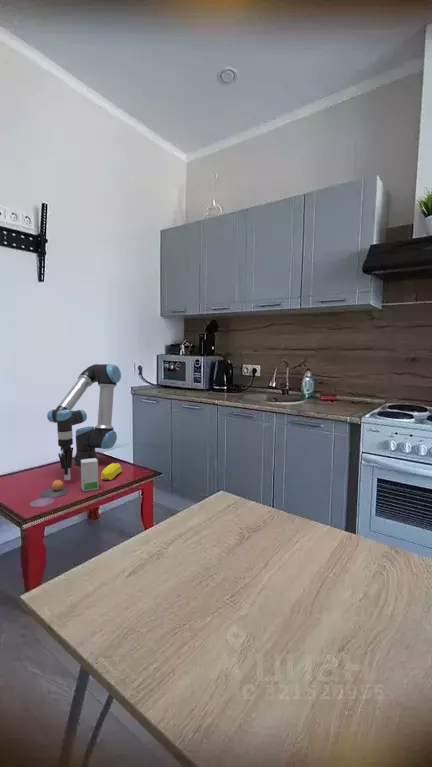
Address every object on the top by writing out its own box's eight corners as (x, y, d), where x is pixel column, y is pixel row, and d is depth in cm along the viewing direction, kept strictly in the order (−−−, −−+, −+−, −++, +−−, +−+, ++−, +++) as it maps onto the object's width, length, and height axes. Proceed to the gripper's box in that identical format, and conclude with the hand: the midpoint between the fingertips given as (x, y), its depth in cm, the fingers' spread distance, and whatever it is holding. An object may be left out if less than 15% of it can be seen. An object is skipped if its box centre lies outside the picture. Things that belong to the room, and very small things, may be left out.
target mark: (49, 487, 200) (49, 487, 200) (72, 488, 199) (72, 487, 199) (35, 497, 187) (35, 497, 187) (60, 498, 186) (60, 497, 186)
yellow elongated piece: (123, 471, 225) (112, 471, 226) (123, 460, 224) (111, 460, 226) (111, 482, 207) (98, 481, 209) (110, 470, 207) (97, 470, 208)
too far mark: (37, 497, 187) (37, 497, 187) (58, 498, 186) (58, 497, 186) (24, 507, 176) (24, 506, 176) (47, 507, 175) (47, 507, 175)
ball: (50, 492, 194) (55, 487, 199) (60, 492, 194) (65, 487, 199) (49, 483, 193) (54, 477, 198) (59, 483, 192) (64, 478, 198)
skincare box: (82, 491, 194) (81, 463, 192) (81, 487, 199) (79, 459, 198) (99, 488, 197) (98, 460, 196) (97, 484, 203) (95, 457, 202)
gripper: (64, 435, 211) (66, 475, 213) (52, 441, 198) (55, 483, 200) (77, 435, 210) (79, 475, 213) (66, 441, 197) (68, 484, 200)
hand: (67, 479), depth 206 cm, fingers closed
